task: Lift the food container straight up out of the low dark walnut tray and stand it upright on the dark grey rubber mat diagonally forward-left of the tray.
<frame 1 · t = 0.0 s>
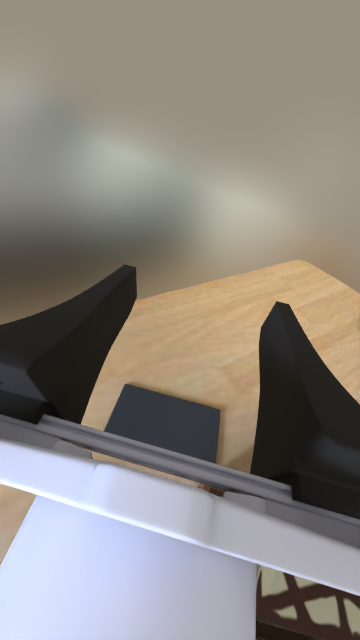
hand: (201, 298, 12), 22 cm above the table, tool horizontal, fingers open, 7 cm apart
rubber mat: (164, 427, 29), on the table
food container: (274, 569, 21), resting in walnut tray
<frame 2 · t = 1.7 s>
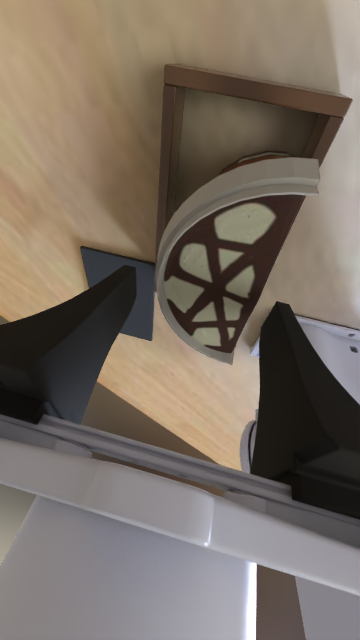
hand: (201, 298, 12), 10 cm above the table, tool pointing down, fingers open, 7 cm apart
walnut tray: (222, 214, 19), on the table
rubber mat: (122, 300, 29), on the table
food container: (223, 213, 19), resting in walnut tray
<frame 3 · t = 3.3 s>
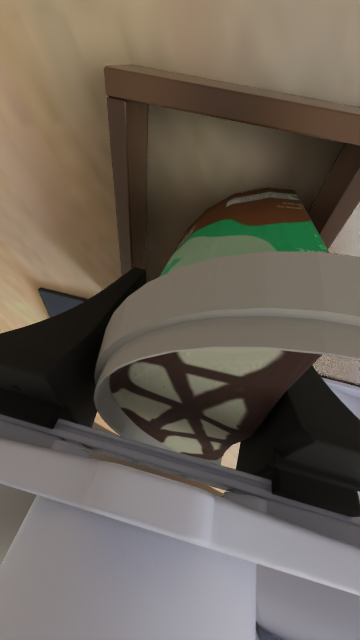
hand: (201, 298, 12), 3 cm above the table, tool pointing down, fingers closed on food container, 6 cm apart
walnut tray: (209, 261, 15), on the table
rubber mat: (96, 343, 25), on the table
food container: (209, 259, 15), resting in walnut tray, touching gripper
when the fingers open (4 cm above the table, at t = 8.7 s): food container stays where it is, resting on rubber mat.
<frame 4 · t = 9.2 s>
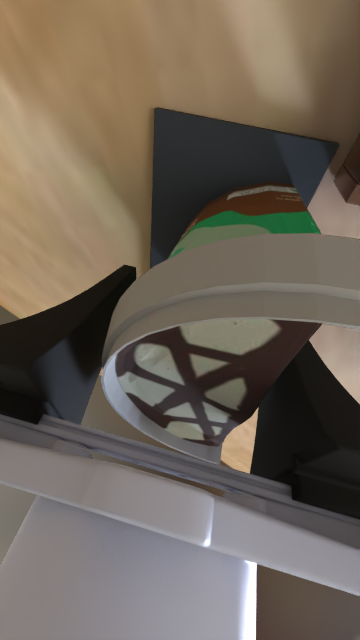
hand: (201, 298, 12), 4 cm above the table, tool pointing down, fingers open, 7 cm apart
rubber mat: (212, 253, 15), on the table
food container: (210, 253, 15), resting on rubber mat
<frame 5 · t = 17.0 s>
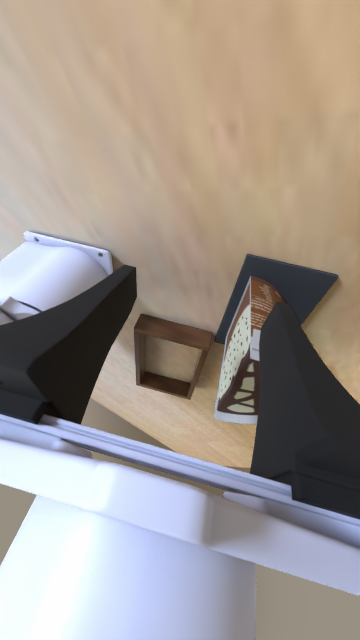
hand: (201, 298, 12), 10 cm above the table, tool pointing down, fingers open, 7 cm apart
walnut tray: (170, 355, 36), on the table
rubber mat: (264, 313, 26), on the table
food container: (264, 315, 26), resting on rubber mat
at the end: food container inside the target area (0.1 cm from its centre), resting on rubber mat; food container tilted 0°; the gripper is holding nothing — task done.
